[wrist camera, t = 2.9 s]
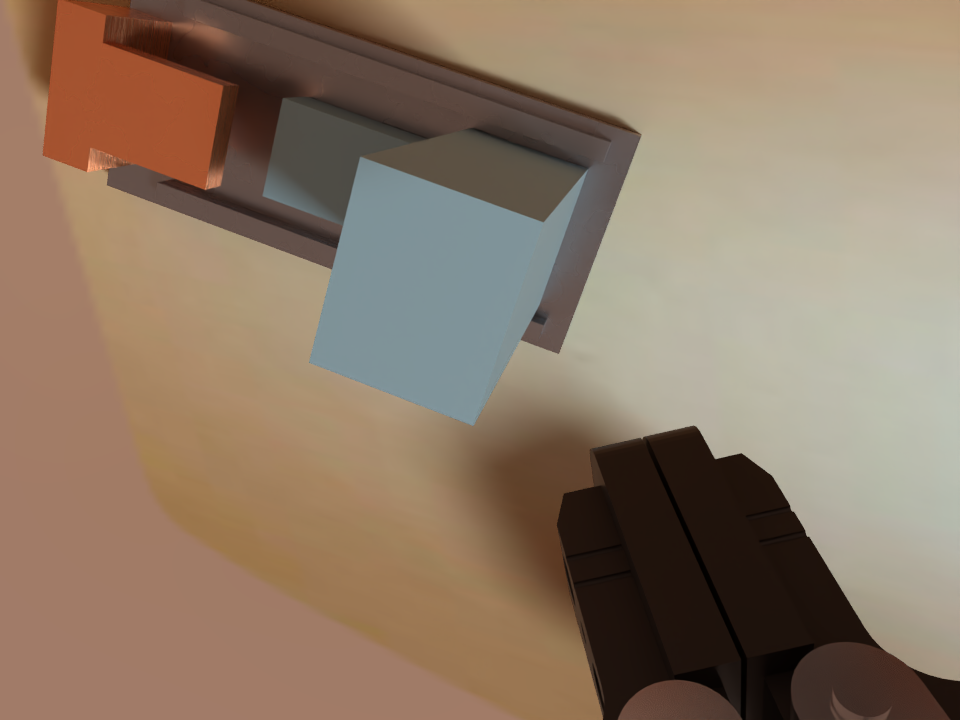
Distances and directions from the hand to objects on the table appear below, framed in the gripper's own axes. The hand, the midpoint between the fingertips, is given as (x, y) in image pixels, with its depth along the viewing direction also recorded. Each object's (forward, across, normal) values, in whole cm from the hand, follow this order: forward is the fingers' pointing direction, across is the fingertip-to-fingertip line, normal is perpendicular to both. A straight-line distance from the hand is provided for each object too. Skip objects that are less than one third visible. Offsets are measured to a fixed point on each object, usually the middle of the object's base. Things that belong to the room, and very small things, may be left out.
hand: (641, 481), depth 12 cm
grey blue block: (+24, +3, +5) cm, 24 cm away
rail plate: (+26, +5, +4) cm, 27 cm away
